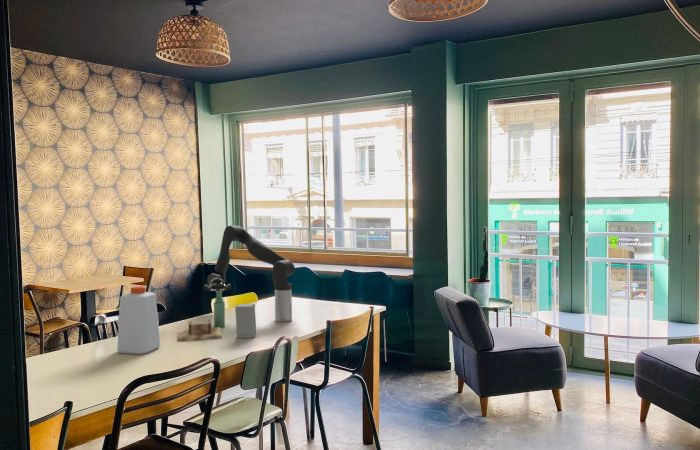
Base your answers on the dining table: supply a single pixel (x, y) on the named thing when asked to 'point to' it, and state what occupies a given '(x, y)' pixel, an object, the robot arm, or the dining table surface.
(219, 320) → the bottle
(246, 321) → the skincare box
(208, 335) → the u rest
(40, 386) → the dining table surface
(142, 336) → the plastic bottle
